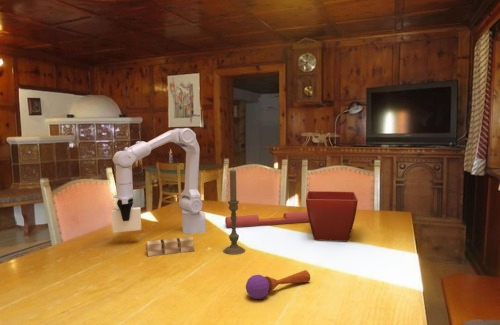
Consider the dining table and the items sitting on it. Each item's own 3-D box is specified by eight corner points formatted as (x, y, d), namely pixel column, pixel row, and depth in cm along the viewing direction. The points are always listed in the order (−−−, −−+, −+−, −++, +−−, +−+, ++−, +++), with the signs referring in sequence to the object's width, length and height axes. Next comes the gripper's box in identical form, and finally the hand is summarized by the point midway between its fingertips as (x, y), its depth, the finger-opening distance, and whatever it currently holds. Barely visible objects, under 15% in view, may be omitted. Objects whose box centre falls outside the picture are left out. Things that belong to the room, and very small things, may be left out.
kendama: (315, 271, 100) (256, 284, 89) (311, 291, 101) (252, 306, 90) (301, 261, 105) (243, 272, 94) (297, 280, 106) (240, 292, 95)
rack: (188, 242, 140) (188, 236, 140) (194, 253, 127) (194, 247, 127) (145, 247, 135) (145, 240, 135) (147, 259, 122) (147, 252, 122)
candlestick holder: (250, 250, 130) (249, 167, 127) (241, 259, 121) (240, 170, 118) (227, 248, 133) (225, 166, 130) (216, 256, 124) (215, 169, 121)
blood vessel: (227, 229, 159) (226, 218, 158) (225, 226, 164) (225, 215, 163) (316, 222, 168) (316, 212, 168) (312, 220, 173) (312, 210, 173)
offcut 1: (160, 251, 128) (160, 239, 127) (161, 254, 124) (161, 243, 123) (147, 252, 126) (147, 241, 126) (148, 256, 122) (147, 244, 122)
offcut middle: (176, 249, 129) (176, 238, 129) (177, 252, 126) (177, 241, 125) (163, 250, 128) (163, 239, 128) (164, 254, 124) (164, 242, 124)
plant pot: (307, 229, 157) (307, 190, 155) (353, 231, 153) (354, 191, 152) (305, 242, 138) (305, 198, 137) (357, 245, 134) (358, 200, 133)
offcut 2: (191, 247, 131) (191, 236, 131) (193, 250, 127) (193, 239, 127) (179, 248, 130) (179, 237, 129) (181, 252, 126) (180, 241, 125)
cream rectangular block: (141, 227, 138) (140, 207, 138) (141, 229, 136) (140, 208, 135) (113, 230, 135) (112, 209, 135) (112, 232, 132) (111, 211, 132)
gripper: (113, 181, 139) (115, 216, 141) (112, 186, 126) (113, 225, 127) (132, 180, 142) (134, 214, 143) (133, 185, 128) (134, 223, 129)
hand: (126, 219), depth 135 cm, fingers closed on cream rectangular block, 3 cm apart
